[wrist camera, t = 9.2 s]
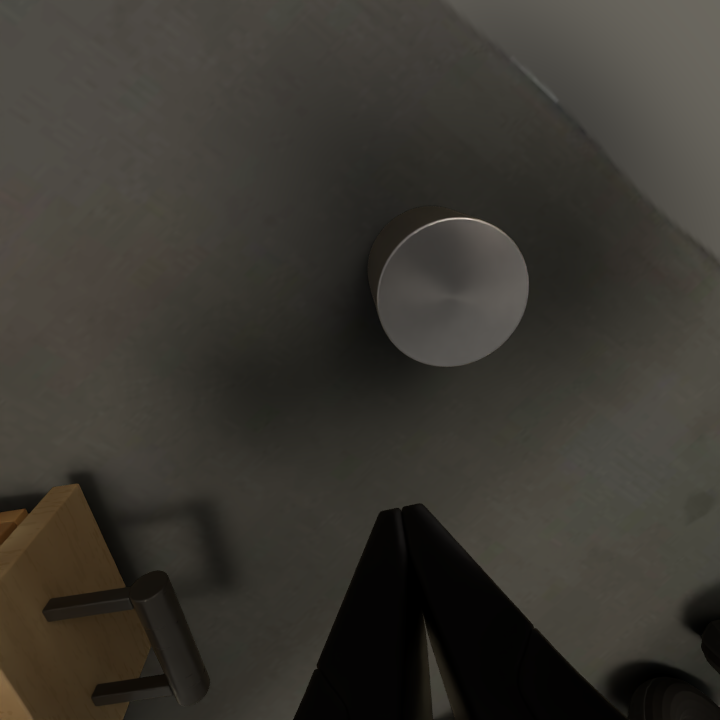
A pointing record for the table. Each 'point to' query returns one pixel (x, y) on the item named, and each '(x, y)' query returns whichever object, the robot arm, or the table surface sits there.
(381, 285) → the tin
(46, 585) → the drawer
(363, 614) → the robot arm
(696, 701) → the headphones
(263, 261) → the table surface
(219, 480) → the table surface
